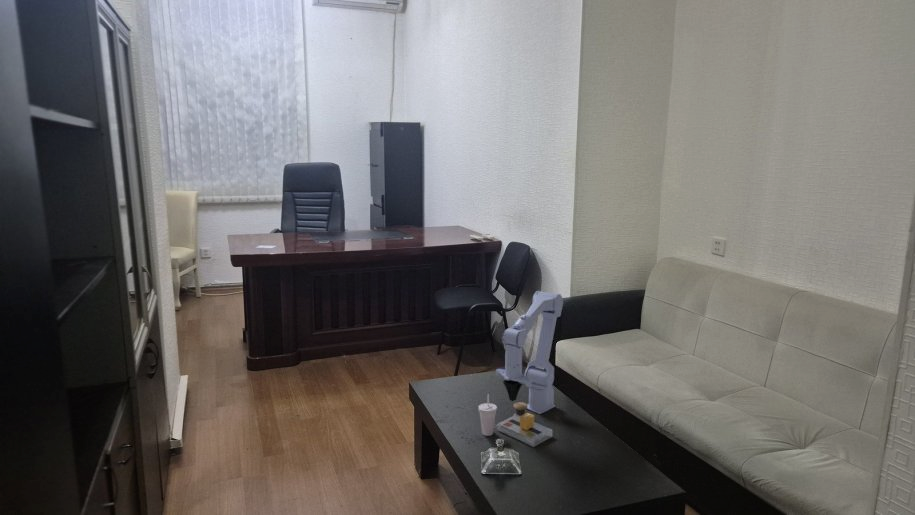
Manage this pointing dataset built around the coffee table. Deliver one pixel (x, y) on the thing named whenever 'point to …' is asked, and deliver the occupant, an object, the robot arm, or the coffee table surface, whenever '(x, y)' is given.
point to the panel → (525, 431)
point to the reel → (520, 408)
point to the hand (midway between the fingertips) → (512, 399)
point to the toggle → (527, 421)
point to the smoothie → (487, 417)
